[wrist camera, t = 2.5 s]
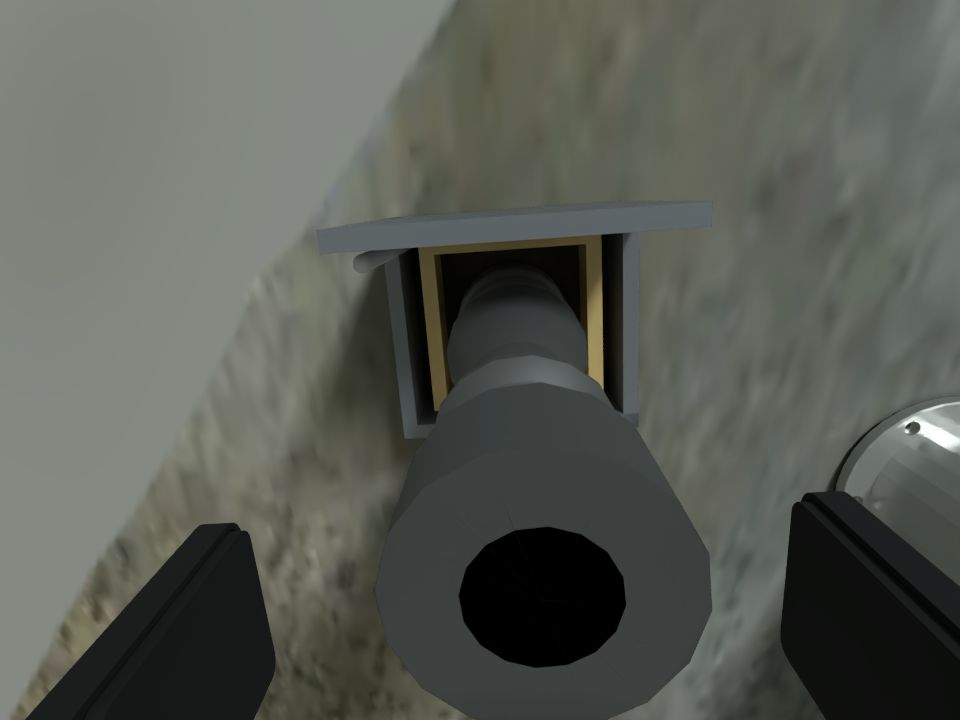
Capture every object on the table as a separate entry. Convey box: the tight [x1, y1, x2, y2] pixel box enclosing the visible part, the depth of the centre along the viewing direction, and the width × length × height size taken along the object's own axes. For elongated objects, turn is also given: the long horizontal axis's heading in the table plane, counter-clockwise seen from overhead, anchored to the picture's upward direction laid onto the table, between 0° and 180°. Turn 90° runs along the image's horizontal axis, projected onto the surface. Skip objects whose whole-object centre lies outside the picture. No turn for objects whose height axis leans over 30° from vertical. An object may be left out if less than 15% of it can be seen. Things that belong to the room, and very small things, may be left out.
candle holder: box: [374, 261, 712, 720], centre depth 21 cm, size 6×6×25 cm
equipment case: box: [316, 201, 713, 439], centre depth 27 cm, size 13×12×14 cm
